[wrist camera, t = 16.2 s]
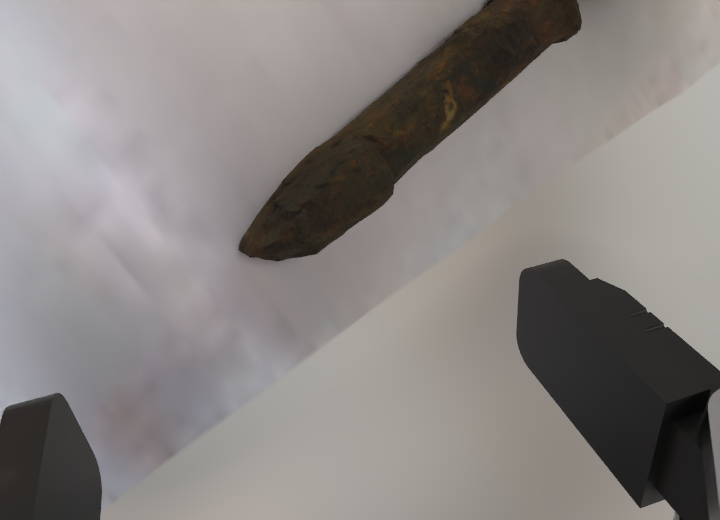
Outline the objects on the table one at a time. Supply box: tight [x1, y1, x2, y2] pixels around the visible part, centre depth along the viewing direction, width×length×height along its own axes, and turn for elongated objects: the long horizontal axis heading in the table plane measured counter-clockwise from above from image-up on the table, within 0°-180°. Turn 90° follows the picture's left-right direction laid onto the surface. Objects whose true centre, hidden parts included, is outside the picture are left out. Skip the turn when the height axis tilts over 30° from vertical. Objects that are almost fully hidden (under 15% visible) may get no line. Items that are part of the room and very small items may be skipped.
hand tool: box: [239, 0, 582, 261], centre depth 32 cm, size 23×5×6 cm, turn 124°
